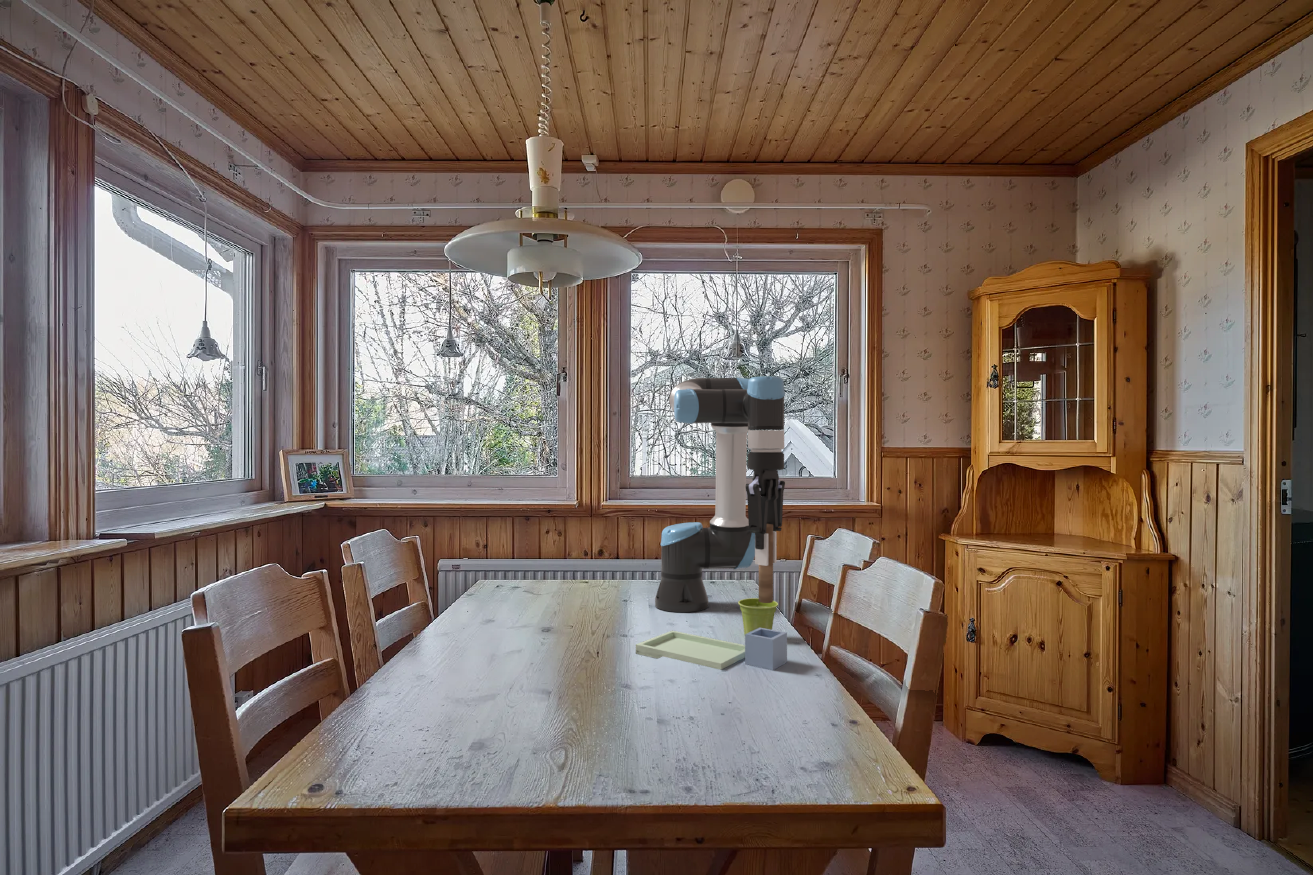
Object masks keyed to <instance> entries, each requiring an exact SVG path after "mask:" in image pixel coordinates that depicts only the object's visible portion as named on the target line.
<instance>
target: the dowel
mask: <svg viewBox="0 0 1313 875" xmlns="http://www.w3.org/2000/svg"><path fill="white" fill-rule="evenodd" d="M766 534H768V566H764V565H758V598H759V602H761V603H772V602H773V601H774V563H773V524H767V527H766Z"/></svg>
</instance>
